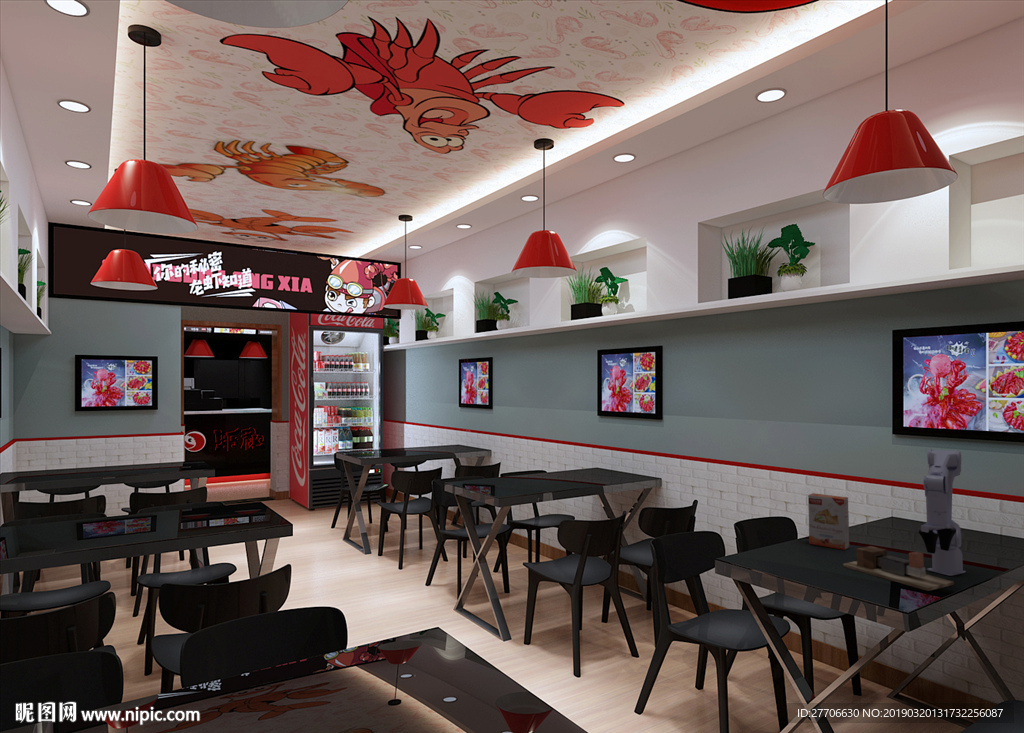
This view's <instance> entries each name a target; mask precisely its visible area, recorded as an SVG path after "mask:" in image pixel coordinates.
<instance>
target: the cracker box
mask: <svg viewBox="0 0 1024 733" xmlns="http://www.w3.org/2000/svg"><path fill="white" fill-rule="evenodd" d="M807 498H808V501H807V502H808V542H809V545H812V546H813V545H814V546H820V547H827V548H832V549H837V550H842V551H846V550H847V549H849V548H850V524H849V522H850V519H849V517H850V516H849V497H847V496H839V495H833V494H832V495H829V494H822V493H814V492H813V493H809V494H808V497H807Z"/></svg>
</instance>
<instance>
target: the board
mask: <svg viewBox="0 0 1024 733" xmlns="http://www.w3.org/2000/svg"><path fill="white" fill-rule="evenodd" d="M842 567H843V568H847V569H850V570H854V571H858V572H861V573H864V574H867V575H871V576H875V577H878V578H882V579H885V580H888V581H891V582H896V583H899V584H902V585H906V586H909V587H913V588H917V589H920V590H924V591H927V592H930V591H933V590H939V589H942V588H945V587H949V586H954V585H955V581H953V580H948V579H945V578H941V577H938V576H933V575H930V574H926V573H925V574H926V576H925V577H921V578H919V577H916V576H912V575H910V576H906V577H903V576H899V575H896V574H892V573H889V572H885V571H881V568H878V569H869V568H865V567H862V566H858V565H857V560H855V561H850V562H845V563H842Z"/></svg>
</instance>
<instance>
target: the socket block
mask: <svg viewBox="0 0 1024 733" xmlns="http://www.w3.org/2000/svg"><path fill="white" fill-rule="evenodd" d="M876 556H882V557H883V556H888V551H887V549H885V548H882V547H881V548H880V547H878V546H877V547H876V546H874V545H873V546H872V545H868V546H864V547H858V548H856V561H857V565H858V566H862V567H865V568H869V569H878V568H881V567H879V566H876Z"/></svg>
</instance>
